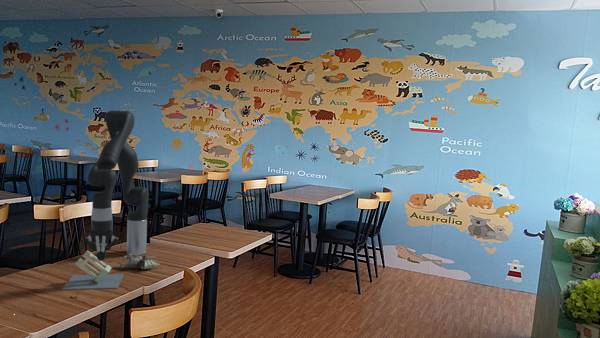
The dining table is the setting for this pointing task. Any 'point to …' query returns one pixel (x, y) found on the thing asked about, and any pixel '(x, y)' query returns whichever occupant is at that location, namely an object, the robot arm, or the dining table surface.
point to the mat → (93, 282)
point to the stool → (91, 270)
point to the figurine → (139, 262)
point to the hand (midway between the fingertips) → (101, 260)
